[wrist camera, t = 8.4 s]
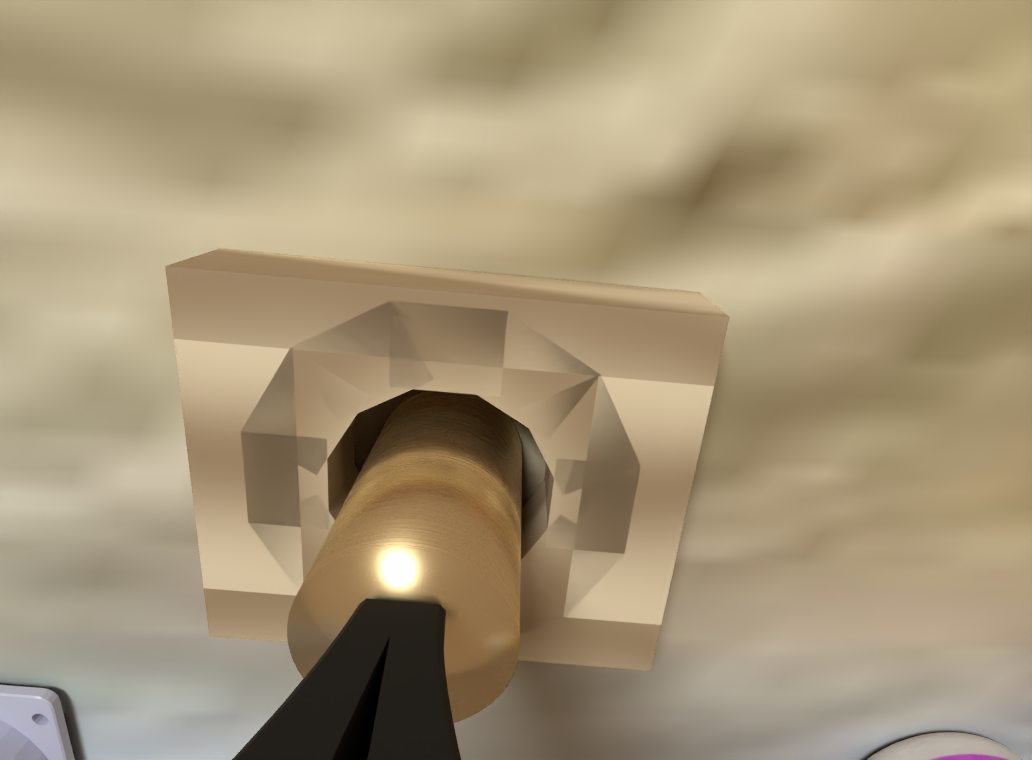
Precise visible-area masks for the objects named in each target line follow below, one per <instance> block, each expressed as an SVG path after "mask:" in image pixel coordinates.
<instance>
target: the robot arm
mask: <svg viewBox="0 0 1032 760" xmlns="http://www.w3.org/2000/svg"><path fill="white" fill-rule="evenodd" d="M445 620H446V610H445V609H444V608H443V607H442V606H441V605H440V604H431V603H419V602H406V601H394V600H381V599H369V598H366V599H365V600H364V601H362V602H361V603H360V604H359V605H358V607H357V608H356V610H355V611H354V613H353V614H352V616H351V617H350V619H349V620H348V621H347V623H346V624H345V626H344V627H343V628H342V630H341V631H340V633H339V634H338V635H337V637H336V638H335V639H334V641H333V642H332V643H331V645H330V646H329V647H328V649H327V650H326V651H325V652H324V654H323V655H322V656H321V658H320V659H319V660H318V662H317V663H316V664H315V665H314V667H313V668H312V669H311V670H310V671H309V673H308V674H307V675H306V676H305V678H304V679H303V680H302V681H301V682H300V684H299V685H298V686H297V687H296V688H295V690H294V691H293V692H292V693H291V695H290V696H289V697H288V698H287V699H286V701H285V702H284V703H283V704H282V705H281V706H280V708H279V709H278V710H277V711H276V712H275V713H274V714H273V716H272V717H271V718H270V719H269V720H268V721H267V722H266V723H265V724H264V725H263V727H262V728H261V729H260V730H259V731H258V732H257V733H256V734H255V735H254V736H253V738H252V739H251V740H250V741H249V742H248V743H247V744H246V745H245V746H244V747H243V749H242V750H241V751H240V752H239V753H238V754H237V755H236V756H235V757H234V758H233V759H232V760H461V757H460V753H459V749H458V744H457V739H456V734H455V729H454V724H453V718H452V712H451V706H450V700H449V694H448V688H447V680H446V671H445V659H444V637H445ZM0 760H75V759H74V754H73V750H72V746H71V742H70V738H69V734H68V730H67V726H66V722H65V718H64V714H63V710H62V705H61V701H60V698H59V696H58V695H57V694H56V693H55V692H54V691H52V690H50V689H46V688H37V687H24V686H11V685H0Z"/></svg>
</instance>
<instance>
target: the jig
mask: <svg viewBox="0 0 1032 760" xmlns="http://www.w3.org/2000/svg"><path fill="white" fill-rule="evenodd" d="M165 267H166V275H167V284H168V292H169V301H170V309H171V317H172V326H173V334H174V342H175V351H176V359H177V368H178V376H179V384H180V393H181V401H182V409H183V418H184V426H185V435H186V443H187V451H188V460H189V468H190V476H191V485H192V493H193V502H194V510H195V518H196V527H197V535H198V543H199V552H200V560H201V569H202V577H203V585H204V594H205V602H206V610H207V619H208V627H209V636H214V637H227V638H240V639H252V640H265V641H278V642H288V639H287V622H288V617H289V612H290V609H291V606H292V604H293V601H294V599H295V597H296V595H297V593H298V591H299V589H300V587H301V585H302V583H303V582H304V580H305V578H306V576H307V574H308V572H309V570H310V568H311V566H312V564H313V562H314V560H315V558H316V556H317V554H318V552H319V551H320V549H321V547H322V545H323V543H324V541H325V539H326V537H327V535H328V533H329V531H330V529H331V527H332V525H333V523H334V521H335V520H336V518H337V516H338V514H339V512H340V510H341V508H342V506H343V504H344V502H345V500H346V498H347V496H348V494H349V492H350V490H351V489H352V487H353V485H354V483H355V481H356V479H357V477H358V475H359V473H360V472H359V470H358V468H357V467H356V465H355V464H354V418H355V417H356V415H357V414H358V413H360V412H362V411H364V410H367V409H369V408H371V407H373V406H376V405H378V404H380V403H383V402H385V401H387V400H389V399H392V398H394V397H396V396H398V395H401V394H403V393H405V392H408V391H410V390H412V389H417V390H429V391H440V392H452V393H463V394H475V395H478V396H480V397H481V398H483V399H484V400H486V401H487V402H489V403H490V404H492V405H494V406H495V407H497V408H498V409H500V410H501V411H503V412H504V413H506V414H508V415H509V416H511V417H512V418H514V419H515V420H517V421H518V422H520V423H521V424H523V425H525V426H526V427H528V428H529V429H530V431H531V433H532V435H533V437H534V439H535V441H536V443H537V445H538V447H539V449H540V451H541V453H542V455H543V457H544V459H545V461H546V463H547V464H546V472H545V480H544V481H543V482H542V483H541V485H540V486H539V487H538V488H537V489H536V491H535V492H534V493H533V494H532V495H531V497H530V498H529V499H528V500H527V502H526V503H525V504H524V505H523V506H522V508H521V573H520V646H519V657H518V660H519V661H531V662H544V663H557V664H569V665H582V666H595V667H607V668H620V669H633V670H645V671H651V669H652V664H653V660H654V655H655V651H656V646H657V642H658V637H659V632H660V628H661V623H662V619H663V614H664V610H665V605H666V601H667V596H668V592H669V587H670V583H671V578H672V574H673V569H674V565H675V560H676V556H677V551H678V547H679V542H680V538H681V533H682V529H683V524H684V520H685V515H686V511H687V506H688V502H689V497H690V493H691V488H692V484H693V479H694V475H695V470H696V466H697V461H698V457H699V452H700V448H701V443H702V439H703V434H704V430H705V425H706V421H707V416H708V411H709V407H710V402H711V398H712V393H713V389H714V384H715V380H716V375H717V371H718V366H719V362H720V357H721V353H722V348H723V344H724V339H725V335H726V330H727V326H728V321H729V316H727V315H726V314H725V313H724V312H723V311H721V310H720V309H719V308H718V307H716V306H715V305H714V304H713V303H712V302H710V301H709V300H708V299H707V298H705V297H704V296H703V295H702V294H701V293H699V292H690V291H679V290H668V289H657V288H646V287H635V286H624V285H613V284H602V283H591V282H580V281H569V280H558V279H547V278H536V277H525V276H514V275H503V274H492V273H481V272H470V271H459V270H448V269H437V268H426V267H415V266H404V265H393V264H382V263H371V262H360V261H349V260H338V259H327V258H316V257H305V256H294V255H283V254H272V253H261V252H250V251H239V250H228V249H217V250H214V251H211V252H208V253H205V254H202V255H199V256H195V257H192V258H189V259H186V260H183V261H180V262H177V263H174V264H171V265H168V266H165Z"/></svg>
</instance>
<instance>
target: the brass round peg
mask: <svg viewBox="0 0 1032 760" xmlns="http://www.w3.org/2000/svg"><path fill="white" fill-rule="evenodd" d="M521 497H522V446H521V440H520V437H519V434H518V431H517V429H516V427H515V425H514V423H513V422H512V420H511V418H510V417H509V416H508V415H507V414H506V413H504V412H503V411H501V410H500V409H498V408H497V407H495V406H494V405H492V404H490V403H489V402H487V401H486V400H484V399H483V398H481V397H480V396H478V395H475V394H463V393H452V392H440V391H429V390H425V391H422V392H419V393H417V394H415V395H413V396H411V397H409V398H408V399H406V400H405V401H403V402H402V403H401V404H400V405H399V406H398V407H397V408H395V410H394V411H393V412H392V413H391V415H390V416H389V418H388V419H387V421H386V423H385V425H384V427H383V429H382V430H381V432H380V434H379V436H378V438H377V440H376V442H375V444H374V446H373V448H372V450H371V452H370V454H369V456H368V458H367V460H366V461H365V463H364V465H363V467H362V469H361V471H360V473H359V475H358V477H357V479H356V481H355V483H354V485H353V487H352V489H351V490H350V492H349V494H348V496H347V498H346V500H345V502H344V504H343V506H342V508H341V510H340V512H339V514H338V516H337V518H336V520H335V521H334V523H333V525H332V527H331V529H330V531H329V533H328V535H327V537H326V539H325V541H324V543H323V545H322V547H321V549H320V551H319V552H318V554H317V556H316V558H315V560H314V562H313V564H312V566H311V568H310V570H309V572H308V574H307V576H306V578H305V580H304V582H303V583H302V585H301V587H300V589H299V591H298V593H297V595H296V597H295V599H294V601H293V604H292V606H291V609H290V612H289V617H288V622H287V639H288V645H289V649H290V653H291V656H292V659H293V661H294V663H295V665H296V667H297V669H298V671H299V672H300V674H301V675H302V677H303V678H305V676H306V675H307V674H308V673H309V671H310V670H311V669H312V668H313V667H314V665H315V664H316V663H317V662H318V660H319V659H320V658H321V656H322V655H323V654H324V652H325V651H326V650H327V649H328V647H329V646H330V645H331V643H332V642H333V641H334V639H335V638H336V637H337V635H338V634H339V633H340V631H341V630H342V628H343V627H344V626H345V624H346V623H347V621H348V620H349V619H350V617H351V616H352V614H353V613H354V611H355V610H356V608H357V607H358V605H359V604H360V603H361V602H362V601H364V600H365V599H366V598H369V599H381V600H394V601H406V602H419V603H431V604H440V605H441V606H442V607H443V608H444V609H445V610H446V620H445V637H444V659H445V671H446V680H447V688H448V694H449V700H450V706H451V712H452V718H453V723H455V722H458V721H461V720H463V719H466V718H468V717H470V716H472V715H474V714H476V713H478V712H479V711H481V710H482V709H484V708H485V707H487V706H488V705H489V704H491V703H492V702H493V701H494V700H495V699H496V698H497V697H498V696H499V695H500V694H501V693H502V692H503V690H504V689H505V688H506V687H507V685H508V683H509V682H510V680H511V678H512V676H513V674H514V672H515V669H516V666H517V663H518V657H519V646H520V573H521Z"/></svg>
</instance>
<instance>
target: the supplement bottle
mask: <svg viewBox="0 0 1032 760" xmlns="http://www.w3.org/2000/svg"><path fill="white" fill-rule="evenodd" d="M867 760H1023V759H1022V758H1020V757H1019V756H1018V755H1017V754H1016V753H1014V752H1013V751H1012V750H1010V749H1008V748H1007V747H1005V746H1003V745H1001V744H999V743H997V742H995V741H993V740H990V739H988V738H985V737H981V736H977V735H973V734H967V733H958V732H940V733H930V734H924V735H919V736H915V737H912V738H908V739H905V740H903V741H900V742H897V743H894V744H892V745H890V746H888V747H886V748H884V749H882V750H880V751H879V752H877V753H875V754H874V755H872V756H871V757H869V758H868V759H867Z"/></svg>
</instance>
